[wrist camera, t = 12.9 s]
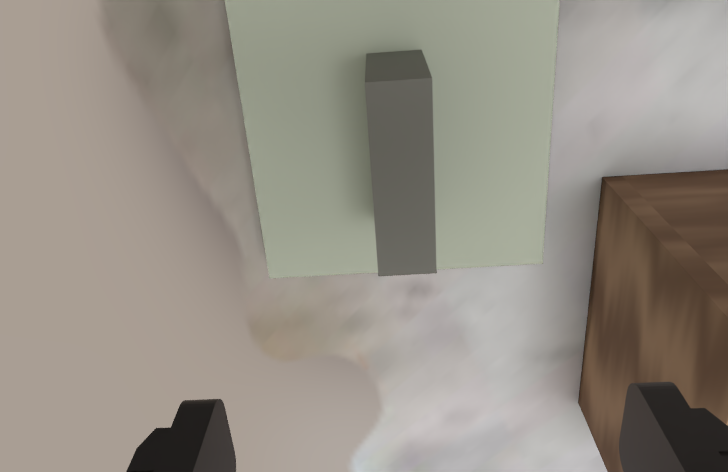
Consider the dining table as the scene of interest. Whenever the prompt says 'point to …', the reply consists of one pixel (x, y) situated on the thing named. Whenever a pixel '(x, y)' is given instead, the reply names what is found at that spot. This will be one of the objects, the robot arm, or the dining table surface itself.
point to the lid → (397, 131)
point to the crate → (657, 297)
